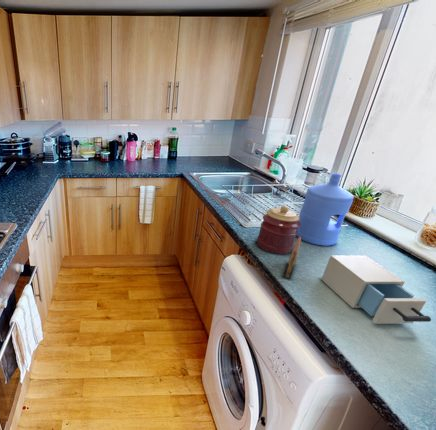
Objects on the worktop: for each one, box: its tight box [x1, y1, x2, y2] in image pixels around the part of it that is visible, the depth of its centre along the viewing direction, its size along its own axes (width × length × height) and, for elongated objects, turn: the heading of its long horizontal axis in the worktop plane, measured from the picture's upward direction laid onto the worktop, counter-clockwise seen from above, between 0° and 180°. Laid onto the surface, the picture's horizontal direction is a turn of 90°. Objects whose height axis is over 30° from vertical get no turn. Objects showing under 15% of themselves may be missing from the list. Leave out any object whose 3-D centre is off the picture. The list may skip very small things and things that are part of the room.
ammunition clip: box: [283, 236, 302, 280], centre depth 98 cm, size 11×2×12 cm, turn 143°
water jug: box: [296, 173, 355, 247], centre depth 118 cm, size 16×16×28 cm
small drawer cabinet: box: [321, 254, 405, 309], centre depth 89 cm, size 14×12×10 cm
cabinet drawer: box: [357, 284, 432, 325], centre depth 80 cm, size 17×10×8 cm, turn 1°
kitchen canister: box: [256, 205, 300, 255], centre depth 112 cm, size 13×13×18 cm
